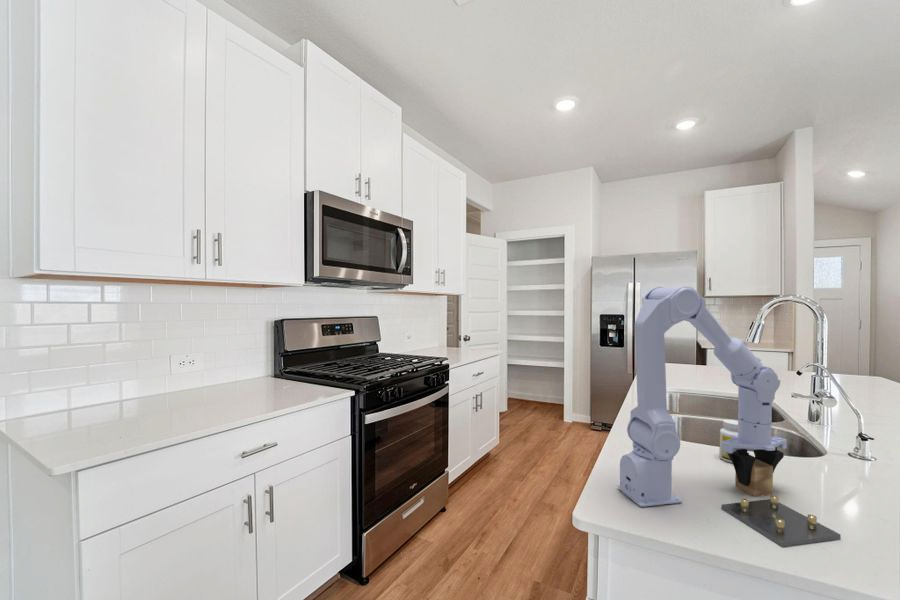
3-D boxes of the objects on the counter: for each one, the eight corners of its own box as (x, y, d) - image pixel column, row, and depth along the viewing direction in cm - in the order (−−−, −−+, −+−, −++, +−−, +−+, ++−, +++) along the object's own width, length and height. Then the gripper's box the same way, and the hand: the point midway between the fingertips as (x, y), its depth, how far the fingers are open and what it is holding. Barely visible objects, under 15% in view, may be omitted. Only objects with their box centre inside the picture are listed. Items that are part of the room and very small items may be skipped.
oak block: (754, 496, 82) (754, 468, 82) (735, 486, 87) (735, 459, 87) (772, 494, 83) (772, 466, 83) (752, 484, 88) (753, 457, 88)
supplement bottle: (750, 465, 97) (750, 426, 97) (725, 463, 98) (725, 424, 98) (738, 456, 103) (739, 419, 102) (715, 455, 104) (715, 417, 103)
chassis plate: (782, 547, 66) (782, 530, 66) (721, 508, 78) (721, 494, 78) (840, 539, 68) (840, 523, 68) (772, 502, 80) (772, 489, 80)
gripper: (742, 428, 80) (741, 495, 80) (802, 424, 82) (801, 488, 82) (713, 417, 87) (712, 479, 87) (769, 413, 89) (768, 473, 89)
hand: (753, 482), depth 85 cm, fingers closed on oak block, 4 cm apart
